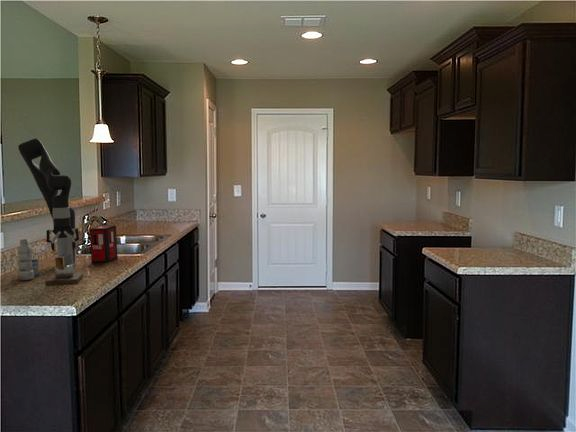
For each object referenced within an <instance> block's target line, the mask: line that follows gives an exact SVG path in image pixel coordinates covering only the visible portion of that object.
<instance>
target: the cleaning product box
mask: <svg viewBox="0 0 576 432" xmlns="http://www.w3.org/2000/svg"><path fill="white" fill-rule="evenodd" d="M117 239H118V238H117V226H116V225H98V226H96V227H91V228H90V229H89V241H90V242H89V244H90V255H91V256H90V259H91V260H90V261H91V264H92V265H93V263H107V264H109V263H111V262H114V261H115V260H117V259H118V243H117V241H118V240H117Z"/></svg>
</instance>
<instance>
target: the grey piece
mask: <svg viewBox="0 0 576 432" xmlns="http://www.w3.org/2000/svg"><path fill="white" fill-rule="evenodd" d="M54 262H55V266H54V275H55V277H56V278H66V277H71V276H73V275H74V274H75V272H74V265H72V261H71V254H63V255H60V256H58V255H57V256H55V257H54Z"/></svg>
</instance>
